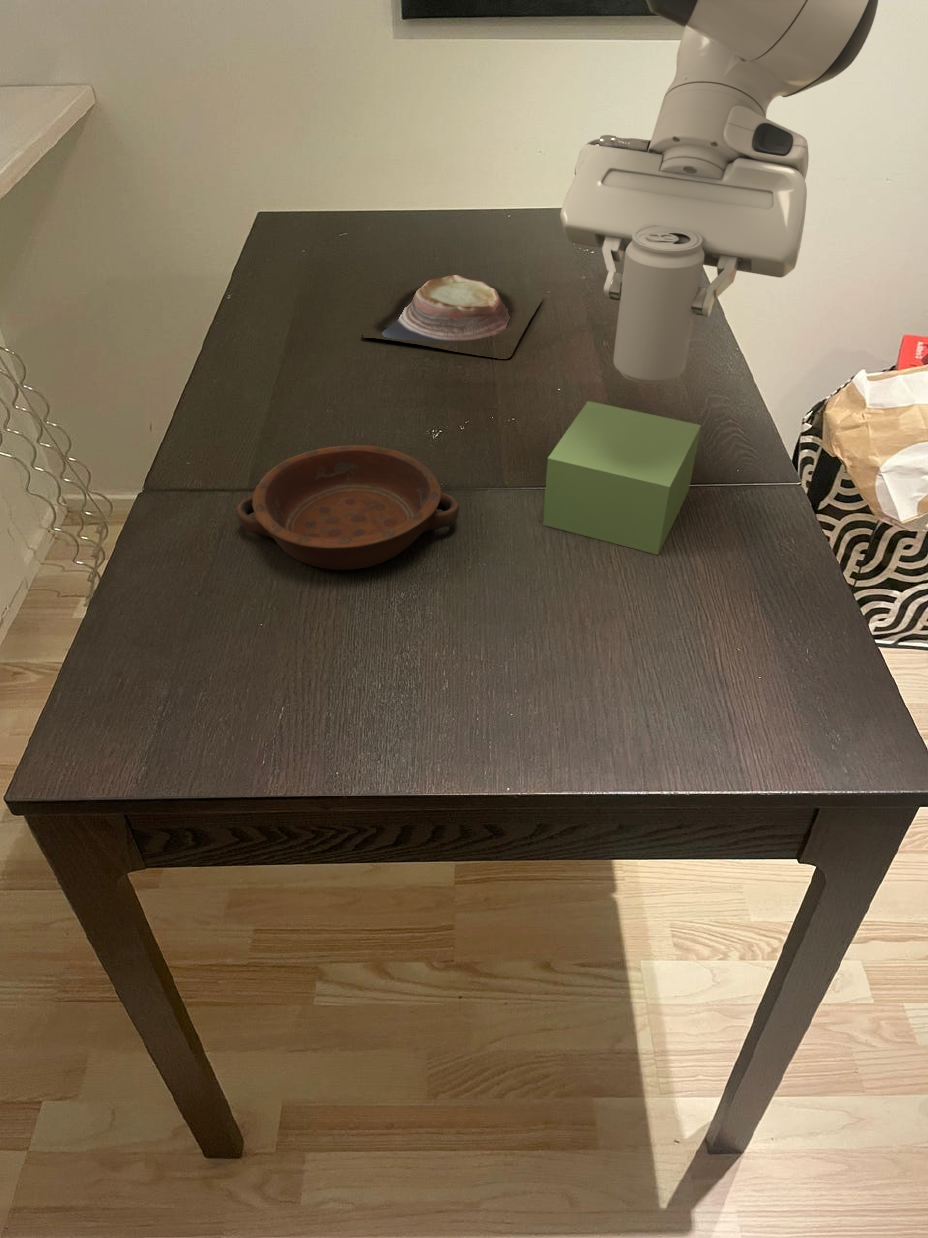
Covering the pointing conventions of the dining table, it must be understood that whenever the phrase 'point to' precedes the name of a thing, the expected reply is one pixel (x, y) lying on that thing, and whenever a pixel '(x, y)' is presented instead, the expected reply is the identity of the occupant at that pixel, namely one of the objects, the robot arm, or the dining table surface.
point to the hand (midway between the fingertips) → (655, 304)
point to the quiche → (451, 312)
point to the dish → (347, 506)
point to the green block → (620, 476)
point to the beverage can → (657, 304)
